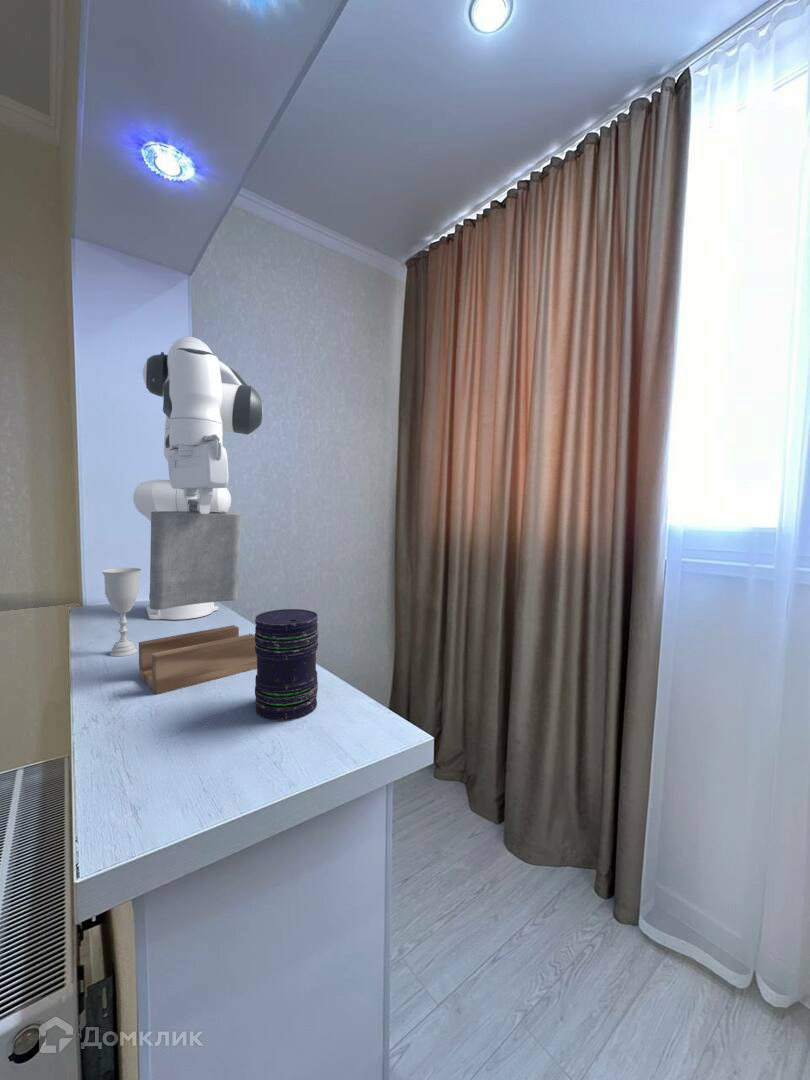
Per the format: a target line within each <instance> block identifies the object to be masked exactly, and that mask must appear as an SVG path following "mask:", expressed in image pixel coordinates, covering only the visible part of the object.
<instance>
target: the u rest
mask: <svg viewBox="0 0 810 1080" xmlns="http://www.w3.org/2000/svg"><path fill="white" fill-rule="evenodd" d="M239 630H240V628H239V627H238V626H236V625H234V624H233V625H227V626H223V627H222V626H221V627H216V628H211V629H204V630H198V631H194V632H187V633H183V634H182V633H181V634H175V635H172V636H165V637H160V638H154V639H149V640H142V641H138V667H139V669H138V670H139V677H140V679H142V680H143V682H145V683H147V684H148V685H149V686H150V687H151V688H152V689H151V688H150V687H149V686H148V685H147V684H146V685H147V686H148V687H149V688H150V689H151V690H152V691H153V692H154V693H155V694H156V695H161V694H164V693H167V692H166V691H168V692H170V691H169V690H172V691H174V690H173V689H176V690H178V688H180V689H183V688H182V687H184V688H187V687H190V685H191V686H194V684H195V685H198V683H199V684H202V682H203V683H206V682H205V681H207V682H210V680H211V681H213V680H217V679H222V678H224V677H230V676H233V674H234V675H237V674H236V673H238V674H240V672H241V673H245V672H248V670H249V671H252V669H253V670H257V669H256V668H257V654H256V652H255V634H253V633H249V634H244V635H240V634H239ZM244 671H245V672H244ZM229 675H230V676H229ZM186 686H187V687H186ZM163 692H164V693H163Z"/></svg>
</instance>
